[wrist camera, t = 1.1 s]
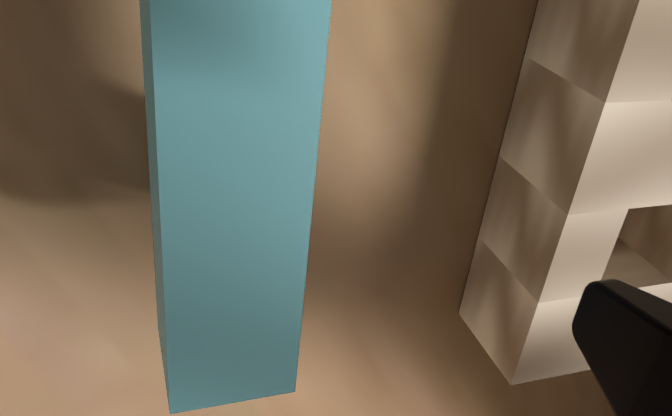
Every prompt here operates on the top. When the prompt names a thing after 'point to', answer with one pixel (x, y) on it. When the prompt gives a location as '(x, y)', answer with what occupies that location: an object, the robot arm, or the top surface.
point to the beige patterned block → (576, 182)
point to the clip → (231, 188)
